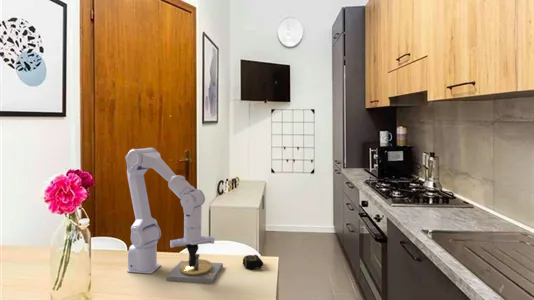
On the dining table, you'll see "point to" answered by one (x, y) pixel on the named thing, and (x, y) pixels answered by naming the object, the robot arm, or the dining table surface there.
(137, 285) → the dining table surface
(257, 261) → the tape measure
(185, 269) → the brass disc with crank
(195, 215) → the robot arm
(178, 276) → the stand
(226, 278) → the dining table surface
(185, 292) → the dining table surface
